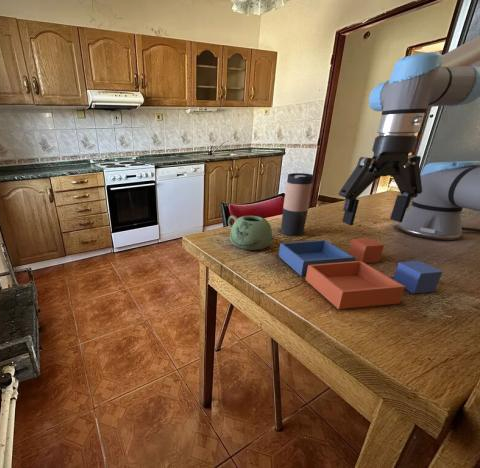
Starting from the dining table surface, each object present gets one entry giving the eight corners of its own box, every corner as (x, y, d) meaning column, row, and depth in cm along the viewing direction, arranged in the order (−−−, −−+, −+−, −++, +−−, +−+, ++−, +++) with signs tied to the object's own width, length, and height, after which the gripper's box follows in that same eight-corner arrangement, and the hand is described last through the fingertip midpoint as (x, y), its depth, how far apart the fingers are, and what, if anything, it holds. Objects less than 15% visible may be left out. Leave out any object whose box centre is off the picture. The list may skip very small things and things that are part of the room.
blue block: (412, 279, 60) (418, 260, 58) (434, 291, 55) (442, 271, 54) (392, 281, 60) (398, 262, 58) (413, 293, 55) (421, 273, 53)
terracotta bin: (356, 275, 63) (360, 260, 61) (399, 303, 52) (405, 286, 51) (305, 279, 62) (308, 264, 60) (338, 309, 51) (342, 292, 50)
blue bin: (321, 252, 75) (324, 239, 73) (351, 271, 64) (354, 257, 63) (278, 256, 74) (280, 243, 72) (301, 276, 63) (303, 261, 62)
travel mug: (299, 228, 94) (308, 172, 86) (307, 236, 86) (318, 176, 79) (277, 228, 94) (284, 173, 87) (283, 236, 87) (292, 176, 80)
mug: (280, 245, 81) (283, 218, 77) (253, 256, 74) (256, 228, 71) (239, 231, 93) (241, 208, 90) (214, 240, 86) (215, 215, 83)
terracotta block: (364, 253, 73) (368, 237, 71) (379, 261, 68) (384, 244, 67) (347, 255, 73) (351, 238, 71) (361, 263, 68) (366, 246, 66)
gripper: (358, 136, 54) (337, 229, 62) (464, 133, 56) (430, 224, 64) (334, 136, 61) (317, 220, 69) (428, 133, 63) (402, 215, 71)
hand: (371, 222), depth 67 cm, fingers open, 13 cm apart
